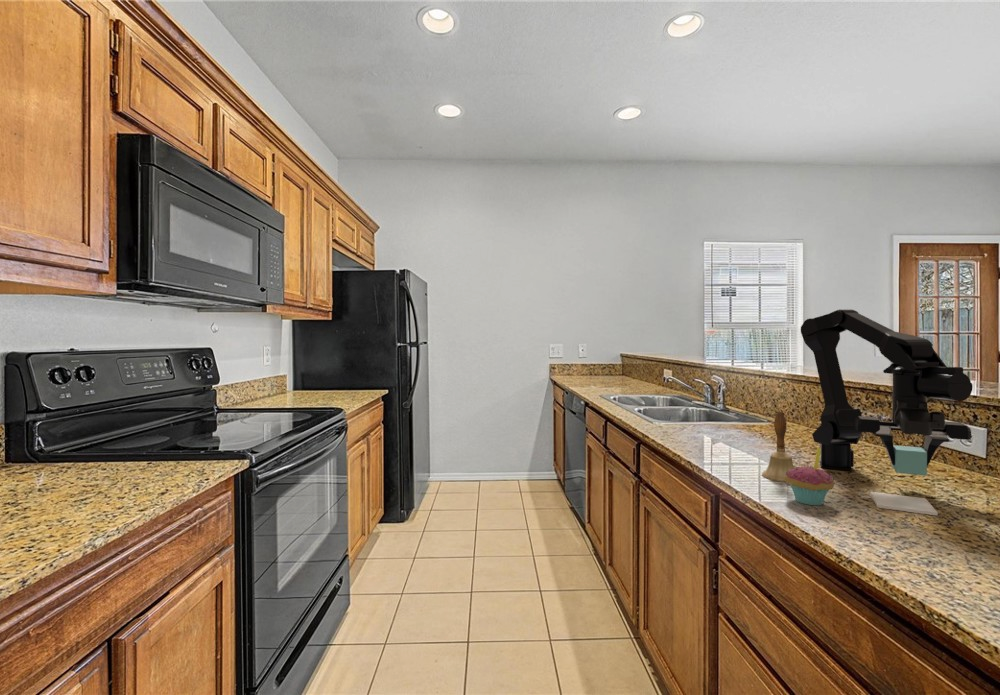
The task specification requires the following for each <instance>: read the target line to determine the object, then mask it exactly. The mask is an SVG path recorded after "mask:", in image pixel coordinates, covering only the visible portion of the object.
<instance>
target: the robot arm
mask: <svg viewBox="0 0 1000 695" xmlns="http://www.w3.org/2000/svg"><path fill="white" fill-rule="evenodd" d="M846 331H848V332H850V333H852V334H854V335H856V336H858V337H860V339H863V340H865V341H867V342H869V343H870V344H873V345H874V346H875V347H877V348H878V350H879V352H880V354H881V355H882V356H883V357H884V358H885V359H886V360H888V361H889V362H890V363H891V364H890V365H889V366H888V367H886V368H884V369H883V370H882V373H883V374H891V375H892V410H891V412H892V421H884V420H880V419H879V418H878V417H877V416H862V412H861V410H860V408H854V407H853V406H851V404H850V403H849V401H848V396H847V392H846V388H845V384H844V379H843V375H842V371H841V365H840V362H839V356H838V354H837V348H838V346H839V345H838V344H839V342H840V341H841V335H840V334H841V333H843V332H846ZM800 333H801V336H802V339H803V341H804V344H805V345H806V346H807V347H808V348H809V349H810V351H812V353H813V356H814V360H815V366H816V370H817V374H818V379H819V384H820V388H821V391H822V397H823V402H824V407H823V409H822V412H821V414H820V423H821V425H819V426H818V428H816V429H815V431H813V432H812V438H813V442H815V443H817V444H821V447H820V448H821V453H820V459H819V465H820V468H823V469H824V468H825V469H831V470H842V471H853V468H854V466H855V462H854V461H855V460H854V459H855V458H854V456H855V455H854V450H853V448H852V445H858V443H859V441H860V437H861V435H862V434H863V433H872V434H873V435H874V436H875V437H879V439H880V440H881V441H882V443H883V446H884V448H885V451H886V452H887V456H888V457H889V458H888V459H889V460H890V463H891V466H892V465H895V454H894V447H893V445H894V435H893V434H892V433H891V431H897V432H898V431H900V432H902V434H905V435H914V434H915V435H923V436H924V441H923V442H924V443H923V449H924V450H925V451H926V452H927V468H928V466H929V465H930V463H931V460H932V458H933V457H934V454H935V453H936V451H937V449H938V448H939V447H940V446H941V445H942V444H943V443H950V439H953V440H965V441H966V440H972V430H971V427H970V426H968V425H967V424H965V423H963V422H960V421H959V422H958V421H946V418H945V417H946V415H945V413H944V412H943V411H931V412H930V411H929V409H928V398H929V399H936V400H945V401H953V402H963V401H966V400H967V399H968V398H969V397H970V396H971V394H972V392H973V388H974V387H973V383H972V382H971V379H970V378H969V376H968V375H967V374H966V373H964V367H962V366H947V365H946V363H945V362H944V361H943V360H942V359H941V357H940V356H939V355H938V353H937V352H936V350H935V349H934V347H933V346H934V345H933V342H931V341H930V340H929V339H927V338H925V337H920V336H917V335H914V334H909V333H902V332H899V331H895V330H893V329H891V328H889V327H887V326H885V325H883V324H881V323H879V322H876V321H875V320H872V319H870V318H869V317H867V316H864V315H863V314H861V313H859V311H857V310H855V309H837V310H834V311H832V312H829V313H826V314H823V315H820V316H817V317H813V318H807V319H805V320H804V321H803V324H802V325H801V326H800ZM948 437H949V438H950V439H949V438H948Z"/></svg>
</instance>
